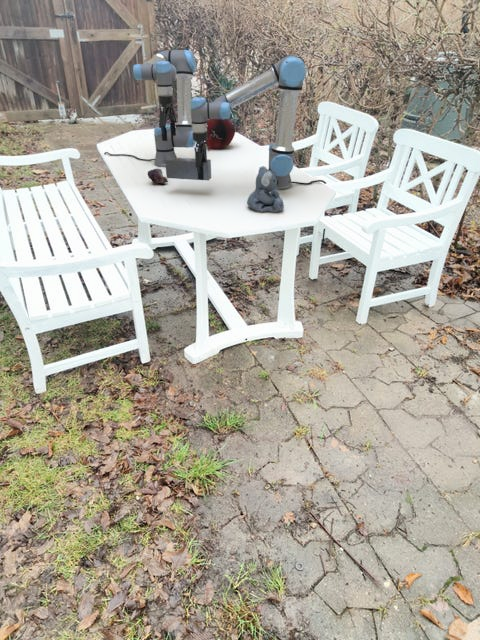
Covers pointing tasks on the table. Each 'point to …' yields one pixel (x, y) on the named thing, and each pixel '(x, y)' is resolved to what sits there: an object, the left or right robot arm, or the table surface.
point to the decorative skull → (219, 133)
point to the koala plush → (265, 193)
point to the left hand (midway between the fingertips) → (169, 138)
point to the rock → (157, 176)
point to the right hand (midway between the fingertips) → (202, 177)
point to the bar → (186, 168)
